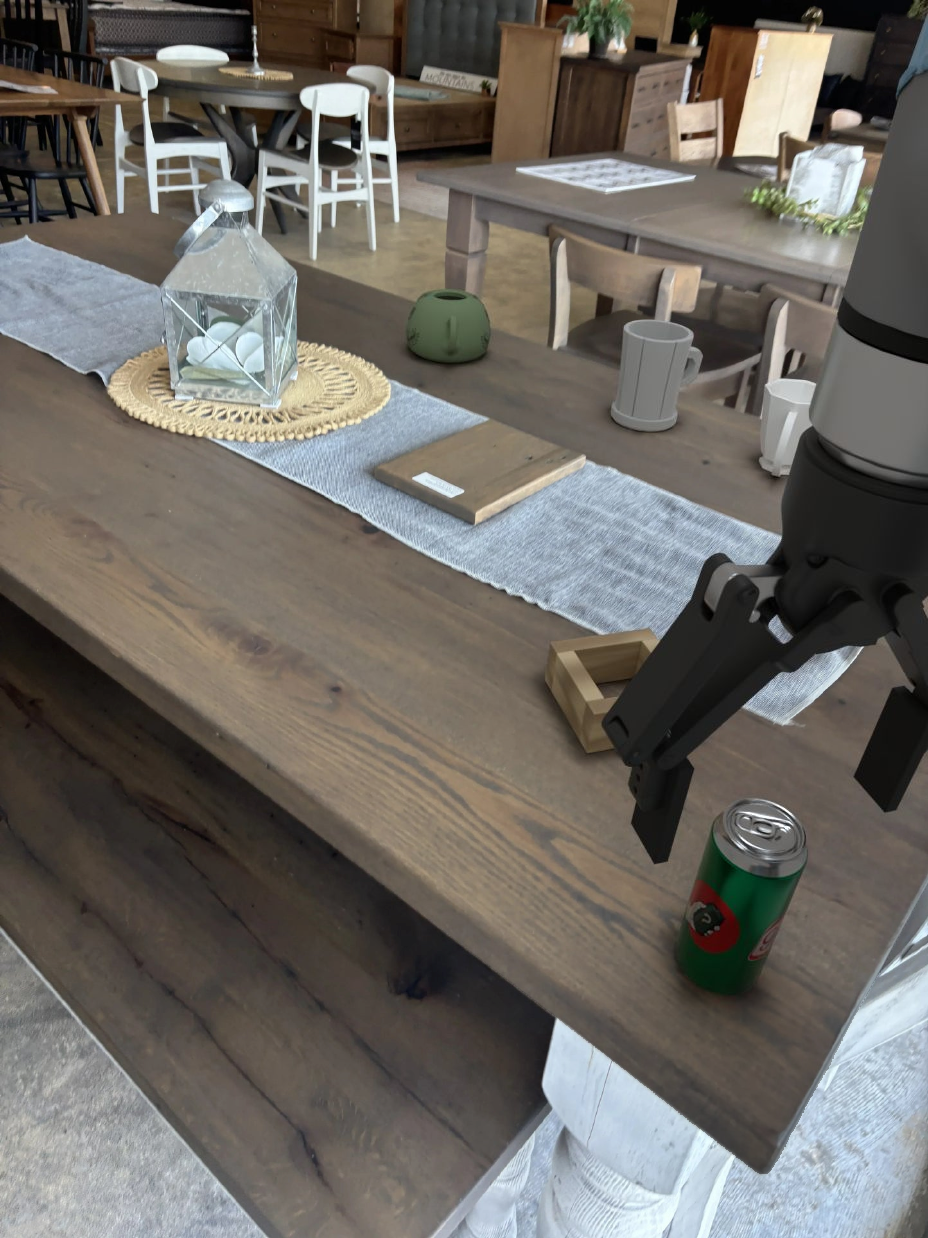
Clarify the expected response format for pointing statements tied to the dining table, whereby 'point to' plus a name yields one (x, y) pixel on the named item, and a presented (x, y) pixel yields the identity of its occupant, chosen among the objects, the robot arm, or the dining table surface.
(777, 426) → the cup
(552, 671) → the holder
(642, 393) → the cup
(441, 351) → the mug
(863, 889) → the dining table surface
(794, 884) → the soda can
